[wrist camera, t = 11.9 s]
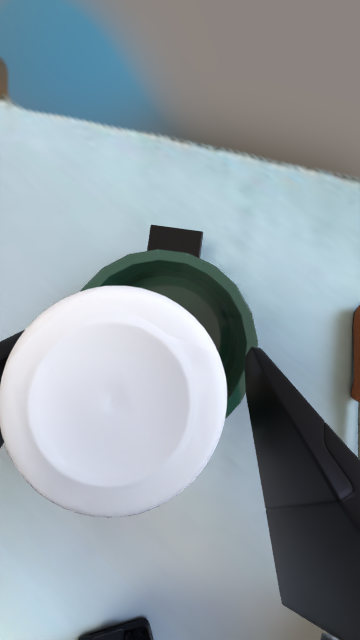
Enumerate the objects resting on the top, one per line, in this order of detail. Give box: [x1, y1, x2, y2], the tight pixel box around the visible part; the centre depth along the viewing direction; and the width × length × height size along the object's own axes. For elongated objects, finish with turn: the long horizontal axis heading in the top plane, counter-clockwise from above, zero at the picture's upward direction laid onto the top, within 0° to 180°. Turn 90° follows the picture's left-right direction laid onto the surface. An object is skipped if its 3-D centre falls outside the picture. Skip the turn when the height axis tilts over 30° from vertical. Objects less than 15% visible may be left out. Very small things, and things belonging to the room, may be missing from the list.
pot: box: [80, 249, 258, 419], centre depth 15 cm, size 14×14×4 cm
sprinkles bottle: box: [0, 286, 227, 518], centre depth 10 cm, size 5×5×13 cm
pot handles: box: [147, 225, 203, 259], centre depth 14 cm, size 18×4×1 cm, turn 173°
